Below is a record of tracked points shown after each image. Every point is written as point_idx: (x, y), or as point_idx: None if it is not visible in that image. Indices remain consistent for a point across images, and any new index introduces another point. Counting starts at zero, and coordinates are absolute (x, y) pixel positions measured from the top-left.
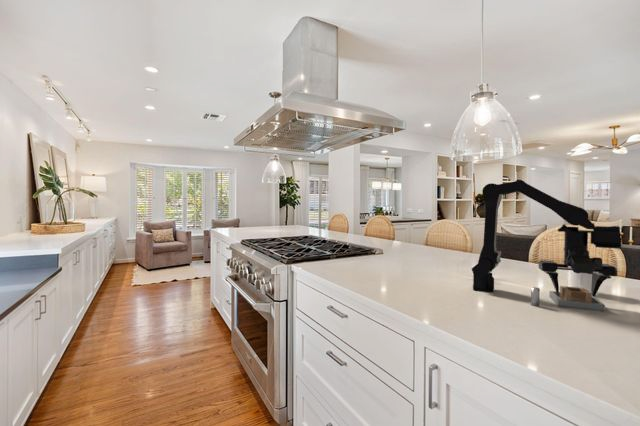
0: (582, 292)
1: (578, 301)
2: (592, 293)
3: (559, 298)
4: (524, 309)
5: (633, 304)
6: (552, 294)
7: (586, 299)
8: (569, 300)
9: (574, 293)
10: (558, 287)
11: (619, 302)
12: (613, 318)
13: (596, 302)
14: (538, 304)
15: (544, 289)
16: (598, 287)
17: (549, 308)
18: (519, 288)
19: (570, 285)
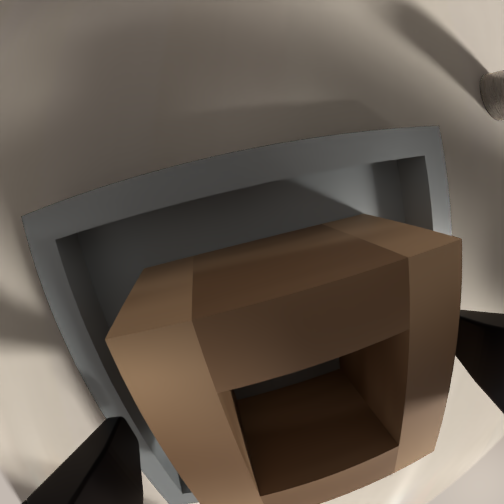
0: (247, 301)
1: (267, 245)
2: (127, 449)
3: (433, 207)
4: (496, 8)
5: (4, 473)
6: None
7: (184, 279)
8: (352, 227)
9: (353, 262)
10: (501, 328)
11: None
12: (36, 37)
13: (98, 337)
14: (490, 76)
15: (384, 497)
16: (38, 495)
17: (437, 54)
18: (482, 426)
19: None
